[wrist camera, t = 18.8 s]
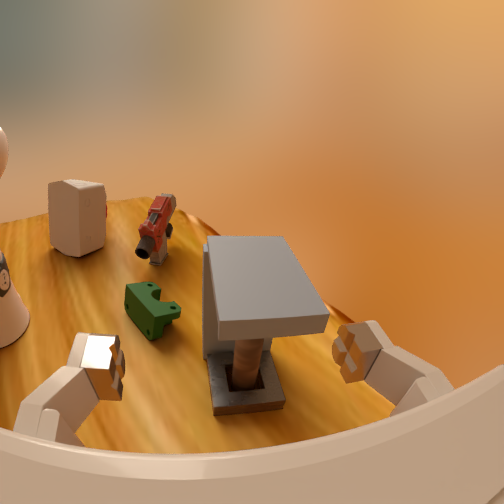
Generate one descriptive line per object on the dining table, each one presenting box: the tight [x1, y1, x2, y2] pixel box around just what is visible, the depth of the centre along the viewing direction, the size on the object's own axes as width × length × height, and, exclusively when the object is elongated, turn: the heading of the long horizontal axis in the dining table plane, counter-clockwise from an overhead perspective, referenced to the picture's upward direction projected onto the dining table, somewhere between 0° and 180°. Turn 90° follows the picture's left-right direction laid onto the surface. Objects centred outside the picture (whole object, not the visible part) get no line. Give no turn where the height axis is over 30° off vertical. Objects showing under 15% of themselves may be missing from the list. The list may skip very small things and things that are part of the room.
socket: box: [207, 350, 286, 416], centre depth 41 cm, size 10×10×2 cm
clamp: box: [124, 282, 181, 340], centre depth 52 cm, size 12×6×9 cm, turn 40°
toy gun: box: [135, 194, 176, 266], centre depth 69 cm, size 4×20×15 cm, turn 175°
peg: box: [231, 338, 264, 392], centre depth 39 cm, size 4×4×12 cm
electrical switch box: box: [48, 179, 107, 257], centre depth 71 cm, size 15×15×20 cm
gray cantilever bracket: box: [202, 236, 330, 359], centre depth 37 cm, size 11×16×21 cm
